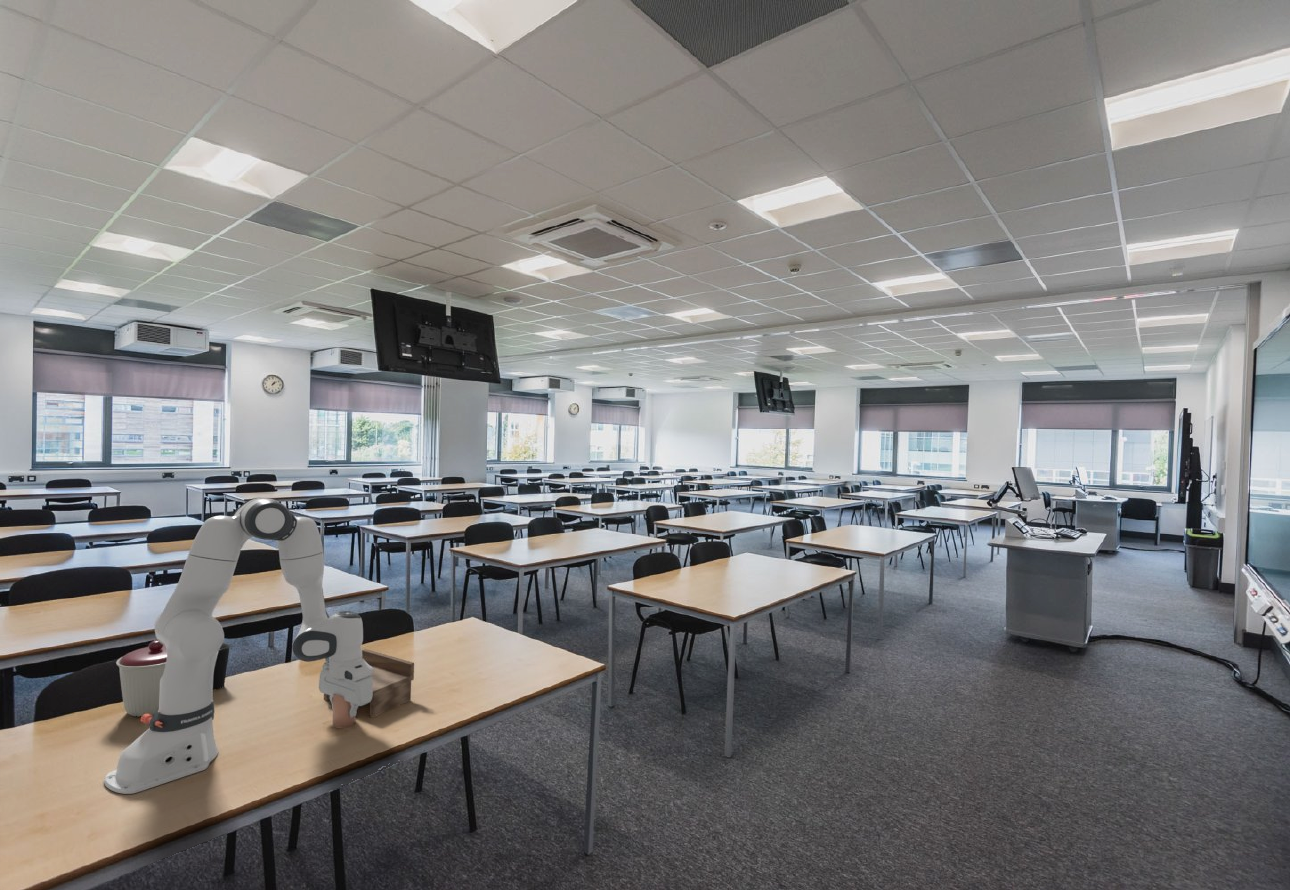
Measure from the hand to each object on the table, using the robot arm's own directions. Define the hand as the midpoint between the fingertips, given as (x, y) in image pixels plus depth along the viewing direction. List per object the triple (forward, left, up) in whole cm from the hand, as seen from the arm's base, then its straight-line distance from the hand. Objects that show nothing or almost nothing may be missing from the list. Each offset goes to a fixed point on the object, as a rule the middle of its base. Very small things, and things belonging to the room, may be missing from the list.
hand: (344, 712), depth 177 cm
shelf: (+14, +8, -3) cm, 16 cm away
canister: (-24, +56, -3) cm, 61 cm away
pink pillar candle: (0, 0, -3) cm, 3 cm away
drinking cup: (-6, +58, -3) cm, 58 cm away
